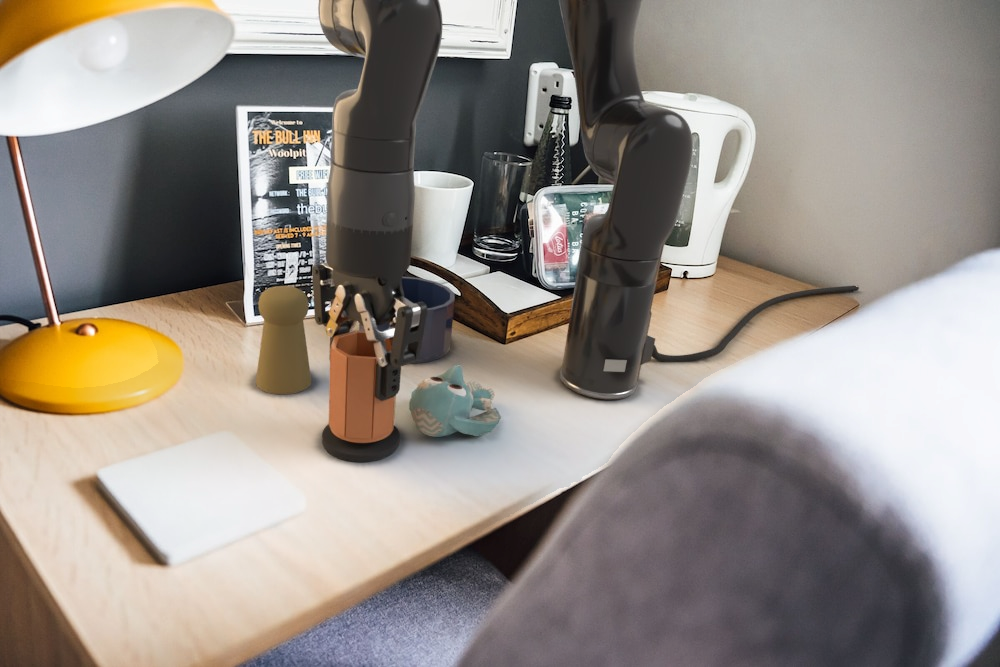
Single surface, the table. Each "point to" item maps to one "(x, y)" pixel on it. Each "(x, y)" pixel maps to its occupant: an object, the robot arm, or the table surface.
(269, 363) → the olive brown pawn
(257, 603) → the table surface
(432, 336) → the big pot
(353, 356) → the copper pot
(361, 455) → the disc
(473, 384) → the stuffed animal
